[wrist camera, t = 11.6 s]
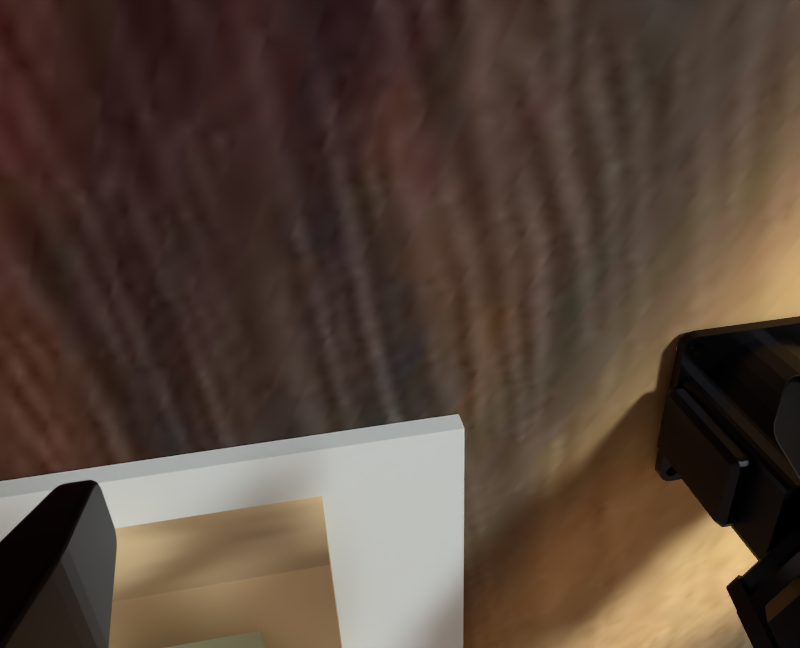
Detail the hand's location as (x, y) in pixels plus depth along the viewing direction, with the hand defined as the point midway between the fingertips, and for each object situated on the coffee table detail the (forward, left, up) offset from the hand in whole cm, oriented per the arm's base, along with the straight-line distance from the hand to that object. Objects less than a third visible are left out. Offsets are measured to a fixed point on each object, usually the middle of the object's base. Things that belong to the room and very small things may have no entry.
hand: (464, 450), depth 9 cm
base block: (+7, +16, -11) cm, 21 cm away
